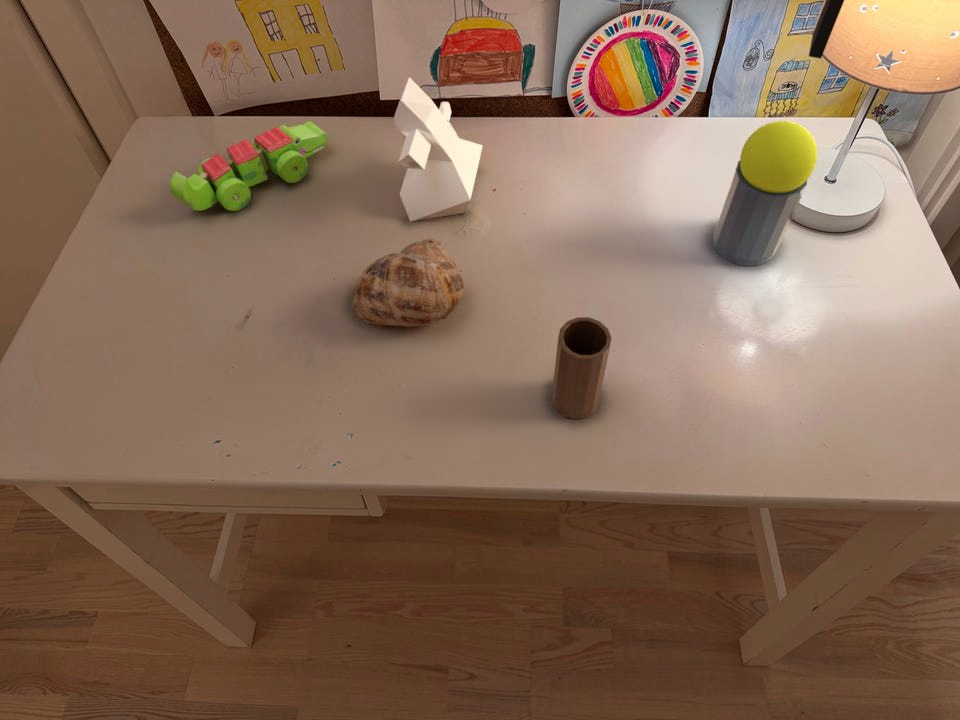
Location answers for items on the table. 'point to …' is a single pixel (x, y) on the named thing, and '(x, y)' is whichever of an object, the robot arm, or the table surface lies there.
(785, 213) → the cup
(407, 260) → the seashell
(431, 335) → the table surface
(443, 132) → the white angular sculpture
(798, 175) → the ball
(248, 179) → the toy crocodile
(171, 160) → the table surface
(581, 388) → the stand
